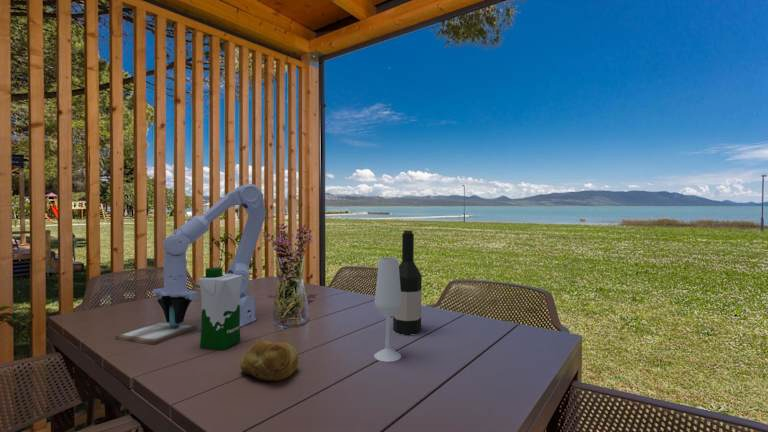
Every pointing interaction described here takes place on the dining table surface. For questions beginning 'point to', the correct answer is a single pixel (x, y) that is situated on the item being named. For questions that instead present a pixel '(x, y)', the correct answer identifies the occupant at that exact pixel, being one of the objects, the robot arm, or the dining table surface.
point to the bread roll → (270, 361)
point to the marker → (172, 317)
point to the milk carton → (220, 309)
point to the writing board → (155, 333)
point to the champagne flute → (388, 301)
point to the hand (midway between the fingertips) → (175, 322)
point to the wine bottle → (408, 290)
